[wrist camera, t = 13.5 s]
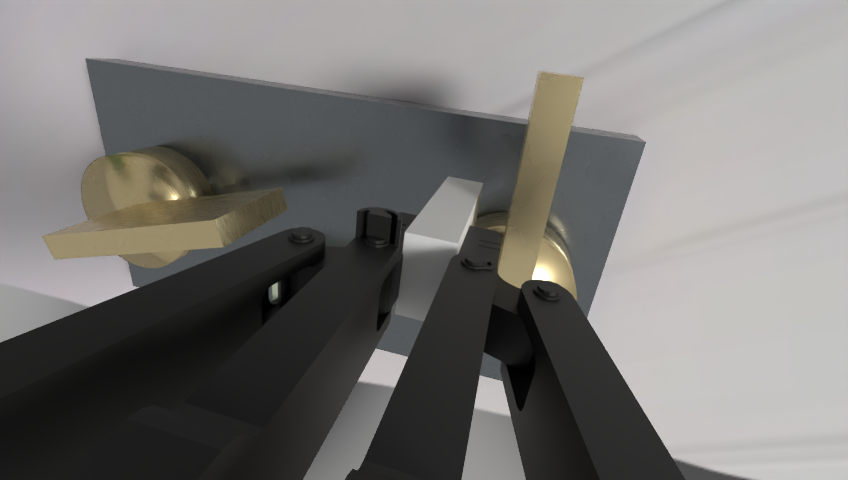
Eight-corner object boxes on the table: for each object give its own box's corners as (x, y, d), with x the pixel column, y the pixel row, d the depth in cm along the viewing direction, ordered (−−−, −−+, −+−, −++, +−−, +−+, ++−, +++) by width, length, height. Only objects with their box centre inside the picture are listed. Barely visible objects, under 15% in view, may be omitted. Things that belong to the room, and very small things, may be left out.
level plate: (154, 273, 33) (81, 314, 28) (115, 58, 27) (9, 57, 21) (558, 374, 28) (565, 448, 22) (636, 135, 21) (671, 159, 16)
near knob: (554, 335, 24) (563, 449, 17) (438, 308, 25) (400, 404, 18) (630, 81, 18) (694, 92, 11) (475, 62, 19) (442, 59, 12)
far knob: (151, 251, 29) (27, 312, 22) (109, 153, 27) (-47, 185, 20) (327, 239, 25) (245, 307, 18) (296, 122, 23) (188, 148, 16)
